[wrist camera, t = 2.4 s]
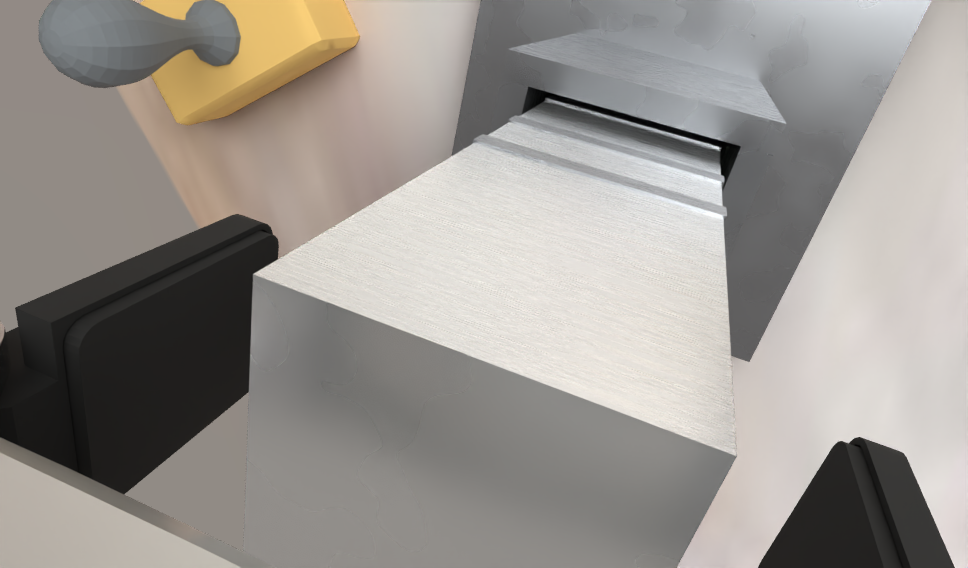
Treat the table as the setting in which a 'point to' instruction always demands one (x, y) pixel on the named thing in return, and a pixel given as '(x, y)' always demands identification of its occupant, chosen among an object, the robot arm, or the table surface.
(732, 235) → the jack stand base
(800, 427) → the table surface
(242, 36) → the rubber stamp
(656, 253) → the block
